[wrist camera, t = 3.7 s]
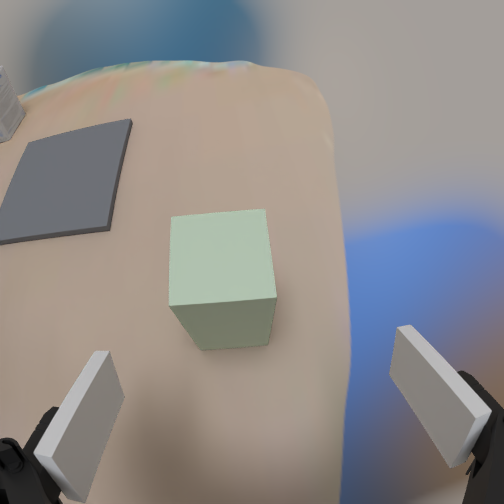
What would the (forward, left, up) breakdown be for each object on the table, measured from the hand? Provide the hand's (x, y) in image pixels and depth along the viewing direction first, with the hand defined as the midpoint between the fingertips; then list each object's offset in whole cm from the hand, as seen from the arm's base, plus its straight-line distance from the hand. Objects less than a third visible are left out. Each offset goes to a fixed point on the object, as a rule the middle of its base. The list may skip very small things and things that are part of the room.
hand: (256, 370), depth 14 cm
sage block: (-1, +6, -10) cm, 11 cm away
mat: (-20, +23, -10) cm, 32 cm away
